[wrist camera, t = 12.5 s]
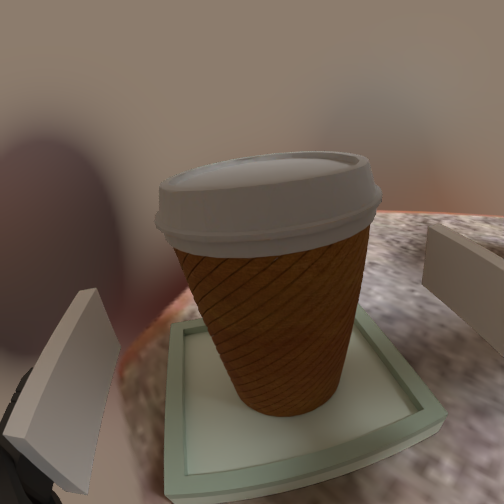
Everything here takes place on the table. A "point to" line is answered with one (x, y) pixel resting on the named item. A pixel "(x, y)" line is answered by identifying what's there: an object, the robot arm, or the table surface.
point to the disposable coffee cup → (275, 267)
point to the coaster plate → (285, 421)
